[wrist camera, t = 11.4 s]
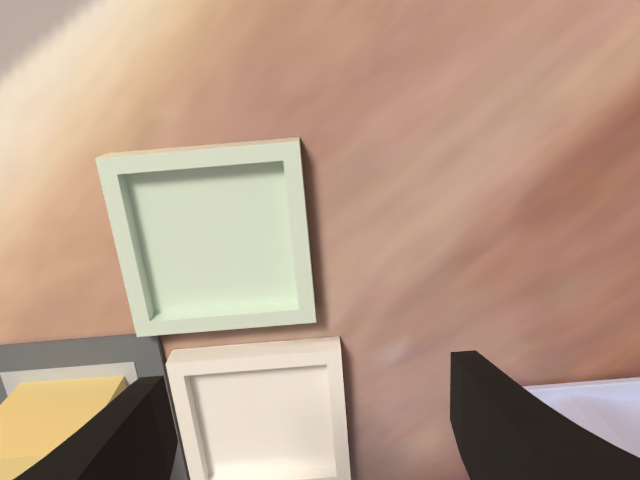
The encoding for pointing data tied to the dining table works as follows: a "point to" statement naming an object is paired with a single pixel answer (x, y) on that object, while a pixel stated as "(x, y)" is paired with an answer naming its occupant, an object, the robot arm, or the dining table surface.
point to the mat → (89, 368)
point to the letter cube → (48, 417)
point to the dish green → (211, 235)
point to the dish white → (262, 410)
